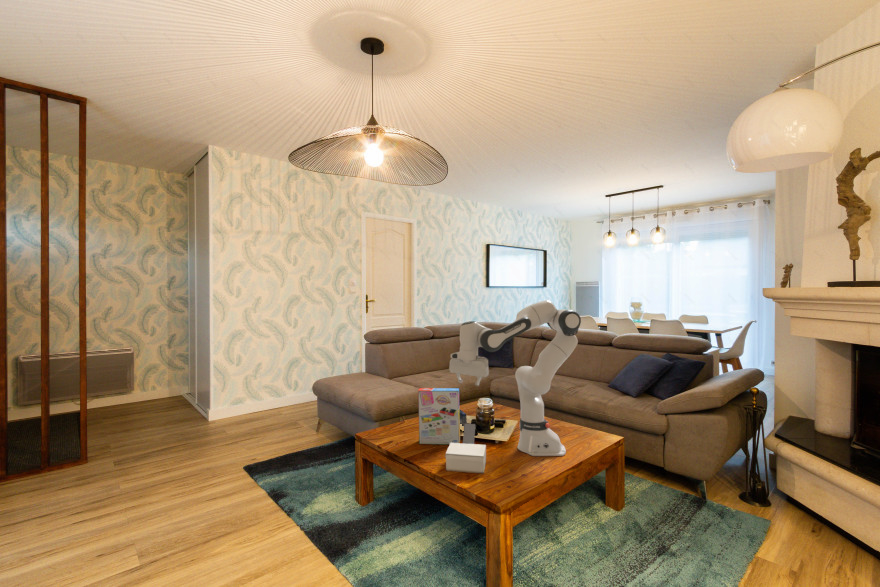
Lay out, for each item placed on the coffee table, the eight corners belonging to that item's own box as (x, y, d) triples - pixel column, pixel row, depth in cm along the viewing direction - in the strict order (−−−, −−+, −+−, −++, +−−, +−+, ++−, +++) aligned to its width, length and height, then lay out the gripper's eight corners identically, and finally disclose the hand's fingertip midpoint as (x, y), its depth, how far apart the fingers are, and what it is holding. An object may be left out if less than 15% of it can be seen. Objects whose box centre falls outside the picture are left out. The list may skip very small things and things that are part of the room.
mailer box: (485, 461, 182) (485, 446, 182) (483, 473, 171) (483, 456, 171) (450, 459, 186) (450, 443, 186) (446, 470, 174) (446, 454, 174)
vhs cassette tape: (450, 422, 238) (450, 405, 238) (455, 421, 239) (455, 405, 238) (461, 432, 220) (461, 414, 220) (466, 432, 221) (466, 413, 221)
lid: (487, 443, 190) (487, 424, 190) (483, 461, 170) (483, 440, 170) (453, 441, 193) (453, 422, 193) (445, 458, 173) (445, 437, 173)
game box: (460, 441, 208) (459, 388, 207) (459, 445, 202) (459, 390, 202) (420, 440, 210) (419, 387, 210) (418, 444, 204) (417, 390, 204)
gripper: (491, 356, 191) (491, 385, 191) (454, 352, 203) (454, 380, 203) (484, 358, 186) (484, 388, 186) (447, 354, 197) (447, 382, 197)
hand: (468, 384), depth 194 cm, fingers open, 8 cm apart
